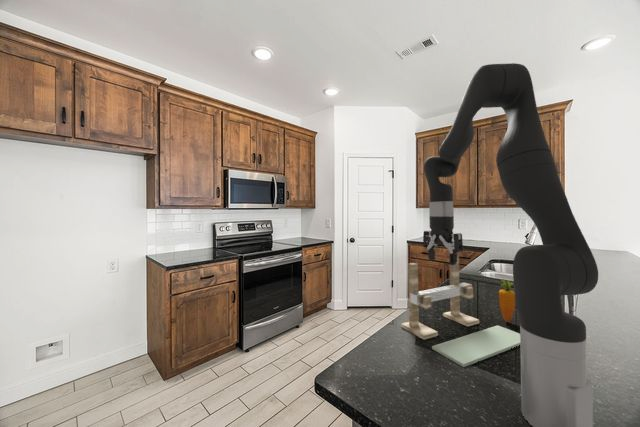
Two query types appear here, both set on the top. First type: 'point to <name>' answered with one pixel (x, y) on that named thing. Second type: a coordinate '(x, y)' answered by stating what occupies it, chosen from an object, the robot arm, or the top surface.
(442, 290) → the rail
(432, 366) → the top surface
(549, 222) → the robot arm
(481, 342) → the mat
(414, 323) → the hook stands
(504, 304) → the carrot
